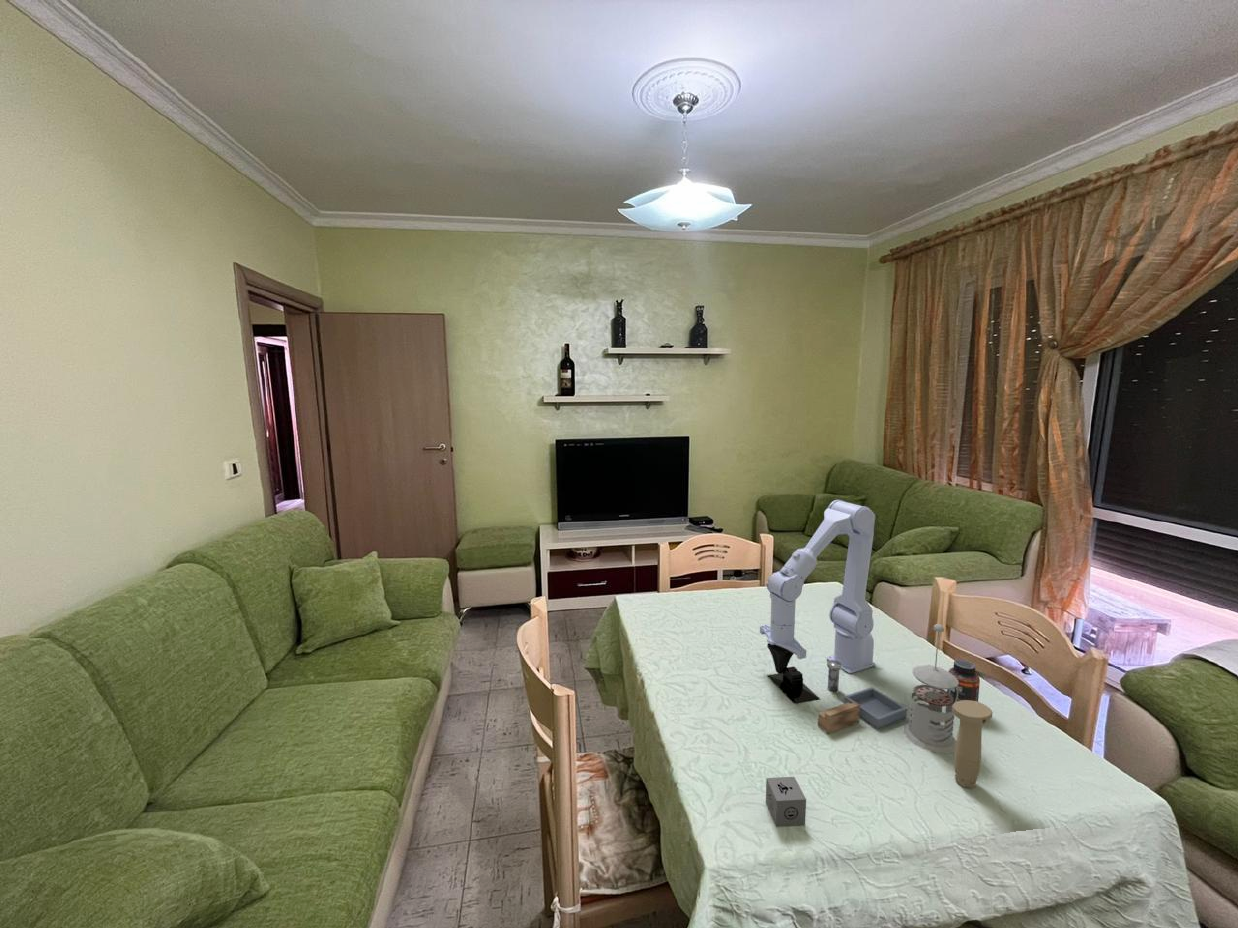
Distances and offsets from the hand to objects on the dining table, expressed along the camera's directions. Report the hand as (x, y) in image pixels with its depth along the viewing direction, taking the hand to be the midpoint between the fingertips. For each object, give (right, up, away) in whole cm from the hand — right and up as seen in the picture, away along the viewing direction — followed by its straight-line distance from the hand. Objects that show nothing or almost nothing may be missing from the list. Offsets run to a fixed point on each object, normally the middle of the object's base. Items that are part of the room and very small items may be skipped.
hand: (780, 671), depth 126 cm
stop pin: (+12, -3, -4) cm, 12 cm away
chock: (+7, -5, -16) cm, 18 cm away
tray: (+17, -4, -13) cm, 22 cm away
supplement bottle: (+37, -4, -12) cm, 39 cm away
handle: (+24, -7, -33) cm, 41 cm away
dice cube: (-12, -9, -39) cm, 42 cm away
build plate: (+2, -3, -2) cm, 4 cm away
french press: (+26, -5, -20) cm, 33 cm away
